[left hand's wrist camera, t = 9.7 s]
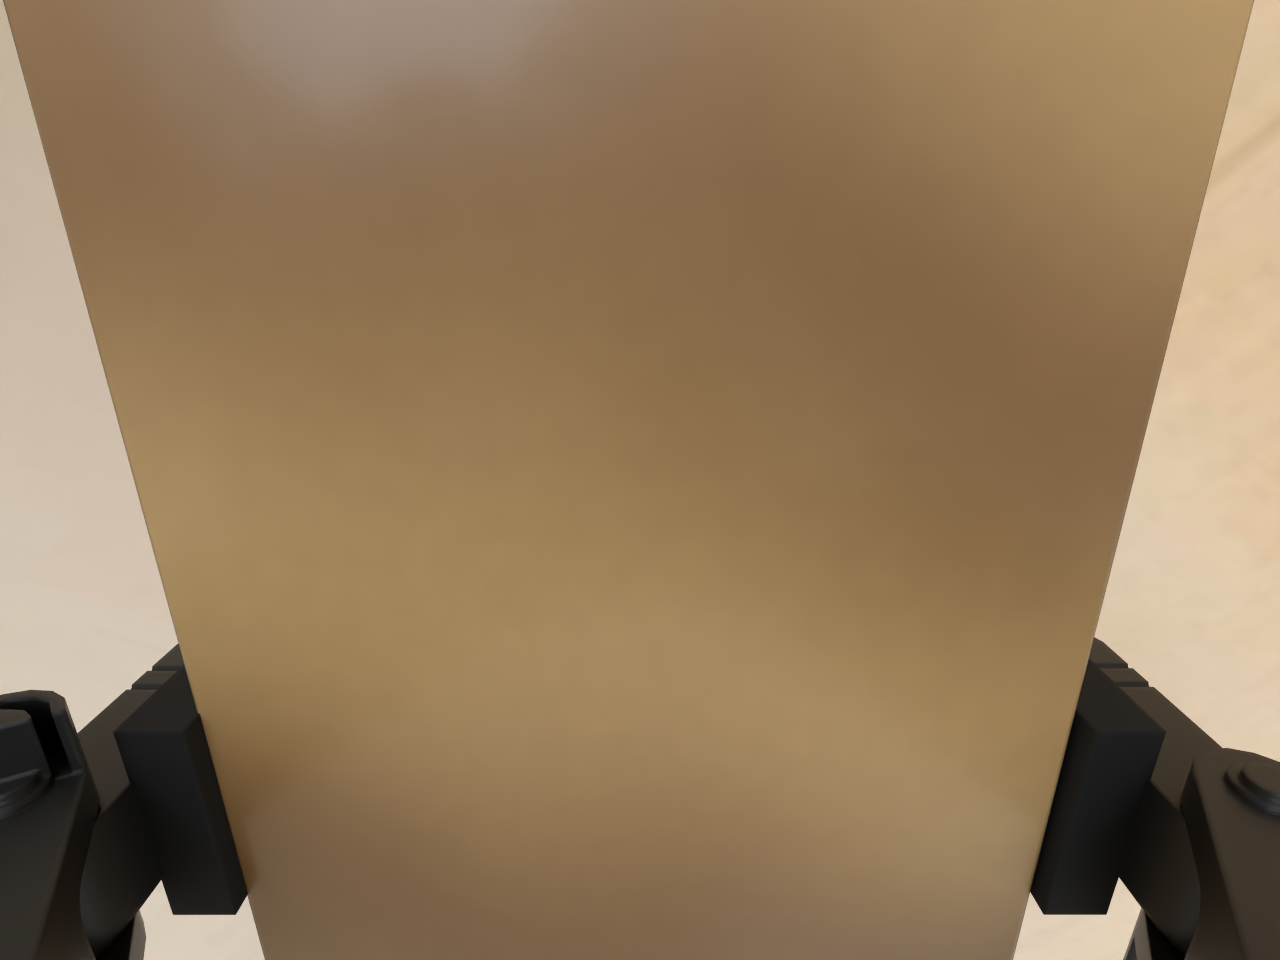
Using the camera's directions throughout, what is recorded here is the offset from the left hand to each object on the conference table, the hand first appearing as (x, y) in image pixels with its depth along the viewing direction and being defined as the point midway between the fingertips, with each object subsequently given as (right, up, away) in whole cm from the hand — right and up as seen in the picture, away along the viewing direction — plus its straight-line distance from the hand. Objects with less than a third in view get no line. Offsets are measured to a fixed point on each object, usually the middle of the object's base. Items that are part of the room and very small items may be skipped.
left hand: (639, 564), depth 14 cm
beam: (0, +35, -12) cm, 37 cm away
